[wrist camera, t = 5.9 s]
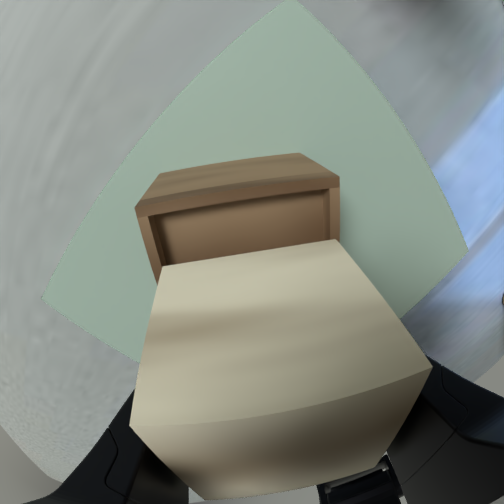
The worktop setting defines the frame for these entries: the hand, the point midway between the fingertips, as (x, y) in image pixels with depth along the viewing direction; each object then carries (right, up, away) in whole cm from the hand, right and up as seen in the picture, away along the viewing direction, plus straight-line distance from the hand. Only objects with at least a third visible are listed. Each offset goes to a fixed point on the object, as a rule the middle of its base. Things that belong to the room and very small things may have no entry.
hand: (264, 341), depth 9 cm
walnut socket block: (-1, +4, +8) cm, 9 cm away
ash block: (0, 0, +1) cm, 1 cm away
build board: (+1, +1, +10) cm, 10 cm away
